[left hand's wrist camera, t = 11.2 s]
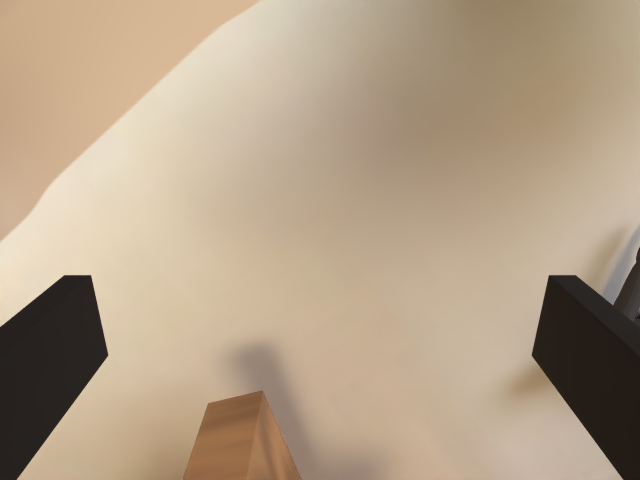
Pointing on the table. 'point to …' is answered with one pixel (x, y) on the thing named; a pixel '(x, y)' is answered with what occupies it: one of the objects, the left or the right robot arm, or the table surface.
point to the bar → (240, 443)
